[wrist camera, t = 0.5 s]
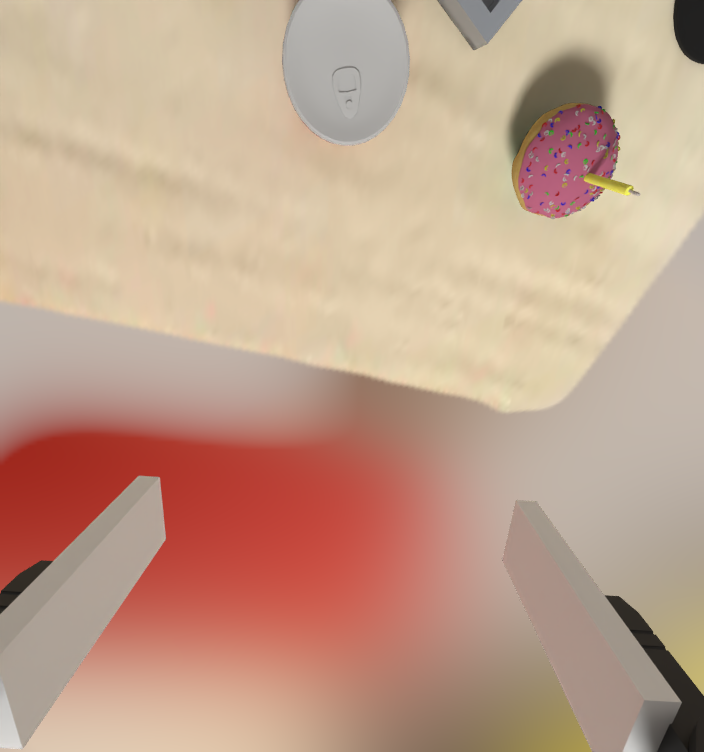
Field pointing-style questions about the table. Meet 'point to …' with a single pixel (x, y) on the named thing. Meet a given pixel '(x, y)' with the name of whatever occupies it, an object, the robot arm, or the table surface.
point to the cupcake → (567, 161)
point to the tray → (479, 17)
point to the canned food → (346, 67)
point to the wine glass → (690, 28)
